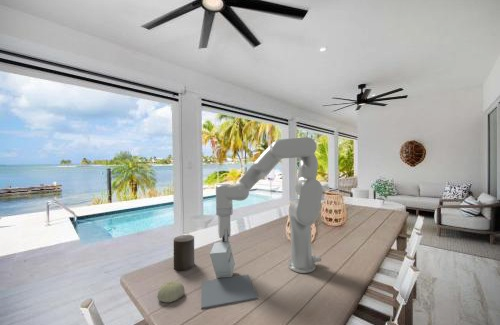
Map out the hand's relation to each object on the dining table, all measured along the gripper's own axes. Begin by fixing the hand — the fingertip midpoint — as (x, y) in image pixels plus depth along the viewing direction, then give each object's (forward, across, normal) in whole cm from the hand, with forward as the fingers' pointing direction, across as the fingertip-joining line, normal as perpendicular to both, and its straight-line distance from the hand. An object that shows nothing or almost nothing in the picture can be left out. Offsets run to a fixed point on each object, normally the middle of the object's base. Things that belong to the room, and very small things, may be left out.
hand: (225, 250), depth 95 cm
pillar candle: (+10, -10, -19) cm, 23 cm away
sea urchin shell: (+10, +13, -22) cm, 27 cm away
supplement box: (+8, +3, 0) cm, 8 cm away
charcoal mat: (+9, +15, -1) cm, 18 cm away
